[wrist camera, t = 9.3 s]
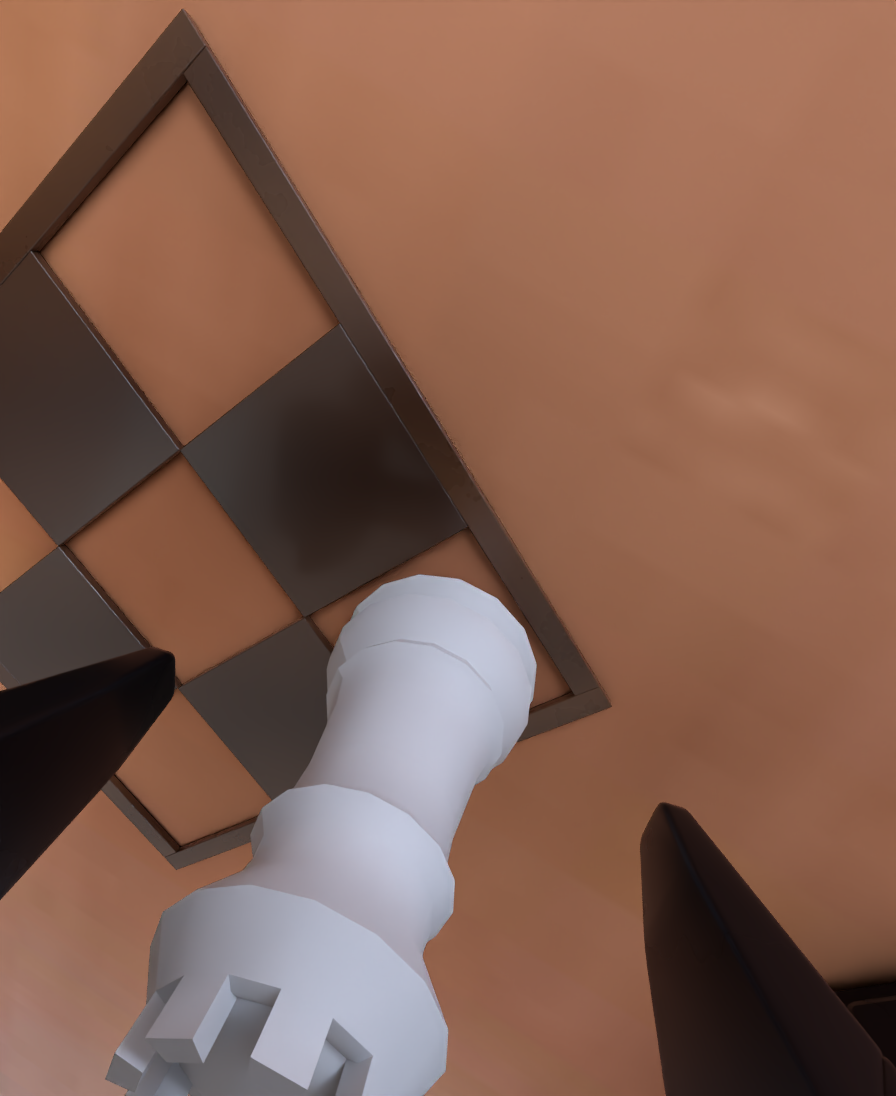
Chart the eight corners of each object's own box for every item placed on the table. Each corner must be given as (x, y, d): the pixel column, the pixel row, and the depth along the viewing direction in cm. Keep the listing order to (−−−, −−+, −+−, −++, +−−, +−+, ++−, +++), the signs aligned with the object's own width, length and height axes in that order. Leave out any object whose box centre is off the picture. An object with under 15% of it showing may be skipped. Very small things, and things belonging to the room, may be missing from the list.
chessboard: (611, 701, 11) (612, 707, 11) (180, 864, 16) (176, 870, 16) (190, 14, 8) (182, 7, 8) (-185, 471, 13) (-196, 473, 13)
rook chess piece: (317, 660, 12) (-41, 1076, 5) (418, 526, 11) (107, 847, 3) (459, 768, 13) (319, 1330, 5) (580, 651, 11) (632, 1229, 3)
